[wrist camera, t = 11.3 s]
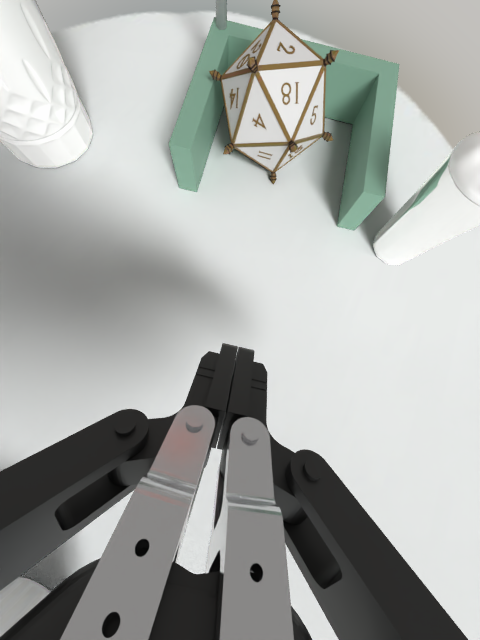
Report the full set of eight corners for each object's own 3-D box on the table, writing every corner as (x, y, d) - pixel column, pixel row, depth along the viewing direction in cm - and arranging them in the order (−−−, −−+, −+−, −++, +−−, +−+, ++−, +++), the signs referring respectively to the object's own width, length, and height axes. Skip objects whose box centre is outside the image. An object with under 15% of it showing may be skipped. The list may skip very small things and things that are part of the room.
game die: (251, 201, 25) (196, 170, 16) (236, 107, 23) (167, 15, 15) (348, 170, 21) (346, 107, 12) (337, 56, 20) (326, -111, 11)
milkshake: (355, 269, 20) (482, 168, 10) (372, 215, 21) (501, 79, 11) (408, 290, 20) (588, 210, 10) (422, 235, 21) (596, 115, 11)
